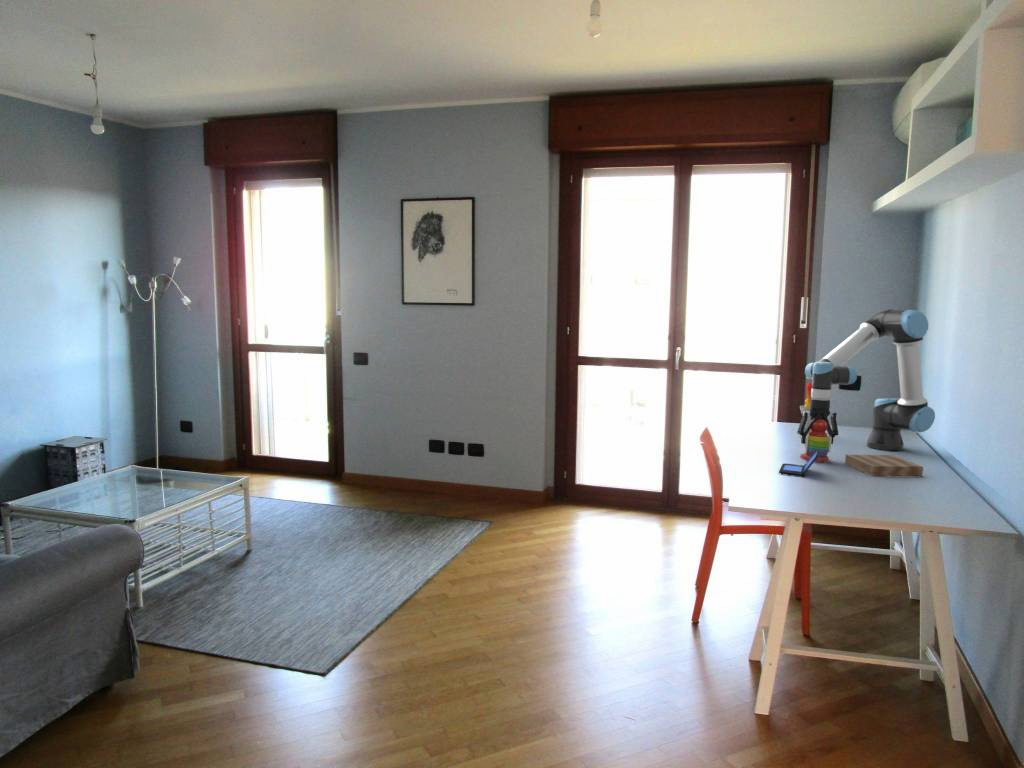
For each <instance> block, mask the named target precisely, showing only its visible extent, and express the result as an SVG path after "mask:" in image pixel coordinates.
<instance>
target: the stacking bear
mask: <svg viewBox="0 0 1024 768" xmlns="http://www.w3.org/2000/svg"><path fill="white" fill-rule="evenodd" d="M812 420H813V419H812ZM827 426H828V425H827V422H826V421H825V420H823V419H818V420H816V422H815V423H813V426H812V427H811V430H812V431H810V432H809V434H808V436H807V437H808V447H807V452H803V453H802V454H800V458H801V459H802V460H804V459H805V460H804V461H807V462H808V461H809V460H810V459H811V457H812V456H813V455H814V454H815V452H816V451H817V450H818V449H820V451H819V455H818V458H817V459H816V460H815V461H814V463H827V462H828V461H829V457H828V454H829V452H828V451H829V446H830V444H829V437H828V436H829V435H828V432H827Z"/></svg>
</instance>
